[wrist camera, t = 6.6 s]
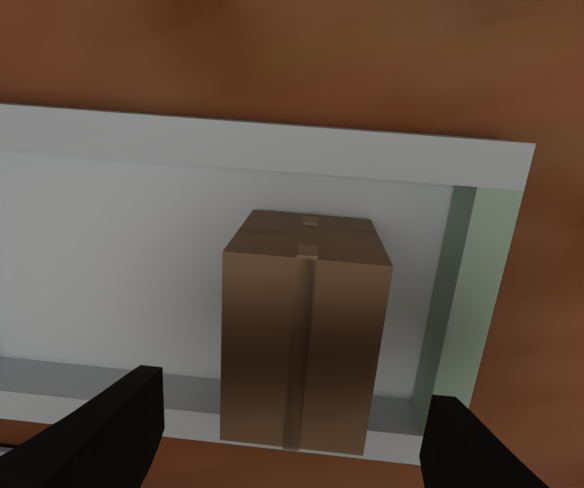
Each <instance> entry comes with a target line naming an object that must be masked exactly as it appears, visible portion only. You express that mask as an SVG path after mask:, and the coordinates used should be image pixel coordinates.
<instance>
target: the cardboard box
mask: <svg viewBox="0 0 584 488" xmlns="http://www.w3.org/2000/svg"><path fill="white" fill-rule="evenodd" d="M392 272H393V265H392V263H391V261H390V259H389V256H388V254H387V252H386V250H385V248H384V246H383V244H382V242H381V240H380V238H379V236H378V234H377V232H376V230H375V228H374V226H373V223H372V221H371V220H370V219H358V218H346V217H334V216H322V215H310V214H298V213H286V212H275V211H263V210H252V212H251V213H250V215H249V216H248V217H247V219H246V220H245V221H244V223H243V224H242V225H241V227H240V228H239V230H238V231H237V232H236V234H235V235H234V236H233V238H232V239H231V240H230V242H229V243H228V245H227V246H226V247H225V249H224V250H223V256H222V321H221V385H220V440H225V441H234V442H243V443H252V444H261V445H270V446H279V447H282V449H285V450H294V451H299V449H306V450H315V451H324V452H333V453H342V454H351V455H360V456H363V453H364V447H365V441H366V435H367V428H368V422H369V416H370V410H371V403H372V397H373V391H374V384H375V378H376V372H377V366H378V359H379V353H380V347H381V341H382V334H383V328H384V322H385V316H386V309H387V303H388V297H389V291H390V284H391V278H392Z"/></svg>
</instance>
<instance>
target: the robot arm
mask: <svg viewBox="0 0 584 488" xmlns="http://www.w3.org/2000/svg"><path fill="white" fill-rule="evenodd" d="M164 429H165V421H164V394H163V367H156V366H146V365H140V366H138V367H137V368H135V369H134V370H132V371H131V372H129V373H128V374H126V375H125V376H123V377H122V378H121V379H119V380H118V381H116V382H115V383H114V384H112V385H111V386H109V387H108V388H107V389H105V390H104V391H102V392H101V393H99V394H98V395H96V396H95V397H94V398H92V399H91V400H89V401H88V402H86V403H85V404H83V405H82V406H81V407H79V408H78V409H76V410H75V411H73V412H72V413H70V414H69V415H67V416H65V417H64V418H62V419H61V420H59V421H57V422H56V423H54V424H53V425H51V426H50V427H48V428H46V429H45V430H43V431H42V432H40V433H39V434H37V435H35V436H34V437H32V438H31V439H29V440H27V441H25V442H24V443H22V444H20V445H19V446H17V447H15V448H6V447H0V488H140V486H141V484H142V482H143V480H144V478H145V476H146V474H147V472H148V470H149V468H150V466H151V464H152V461H153V459H154V456H155V454H156V451H157V449H158V446H159V443H160V440H161V438H162V435H163V432H164ZM419 459H420V464H421V470H422V476H423V481H424V486H425V488H549V487H548V486H547V485H546V484H545V483H544V482H543V481H541V480H540V479H539V478H538V477H537V476H536V475H535V474H534V473H533V472H532V471H531V470H529V469H528V468H527V467H526V466H525V465H524V464H523V463H522V462H521V461H520V460H519V459H518V458H517V457H516V456H515V455H514V454H513V453H512V452H511V451H510V450H509V449H508V448H507V447H506V446H505V445H504V444H503V443H502V442H501V441H500V440H499V439H498V438H497V437H496V436H495V435H494V434H493V433H492V432H491V431H490V430H489V429H488V428H487V427H486V426H485V425H484V424H483V423H482V422H481V421H480V420H479V419H478V418H477V417H476V416H475V415H474V414H473V413H472V412H471V411H470V410H469V409H468V408H467V407H466V406H465V405H464V404H463V403H462V402H461V401H460V400H459V399H458V398H457V397H454V396H444V395H434V394H432V397H431V402H430V407H429V411H428V416H427V421H426V425H425V430H424V435H423V439H422V444H421V449H420V454H419Z"/></svg>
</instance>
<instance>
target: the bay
mask: <svg viewBox="0 0 584 488" xmlns="http://www.w3.org/2000/svg"><path fill="white" fill-rule="evenodd" d="M535 145H536V144H534V143H526V142H518V141H510V140H502V139H491V138H477V137H464V136H450V135H437V134H423V133H410V132H396V131H383V130H369V129H356V128H342V127H329V126H315V125H301V124H288V123H274V122H261V121H247V120H234V119H220V118H207V117H193V116H180V115H166V114H153V113H139V112H126V111H112V110H99V109H85V108H71V107H58V106H44V105H31V104H17V103H4V102H0V418H2V419H11V420H20V421H29V422H38V423H47V424H54V423H56V422H57V421H59V420H61V419H62V418H64V417H65V416H67V415H69V414H70V413H72V412H73V411H75V410H76V409H78V408H79V407H81V406H82V405H83V404H85V403H86V402H88V401H89V400H91V399H92V398H94V397H95V396H96V395H98V394H99V393H101V392H102V391H104V390H105V389H107V388H108V387H109V386H111V385H112V384H114V383H115V382H116V381H118V380H119V379H121V378H122V377H123V376H125V375H126V374H128V373H129V372H131V371H132V370H134V369H135V368H137V367H138V366H140V365H146V366H156V367H163V394H164V421H165V429H164V432H163V435H162V436H163V437H172V438H181V439H190V440H199V441H208V442H217V443H226V444H235V445H244V446H253V447H262V448H271V449H280V450H285V449H282V447H279V446H270V445H261V444H252V443H243V442H234V441H225V440H220V385H221V321H222V256H223V250H224V249H225V247H226V246H227V245H228V243H229V242H230V240H231V239H232V238H233V236H234V235H235V234H236V232H237V231H238V230H239V228H240V227H241V225H242V224H243V223H244V221H245V220H246V219H247V217H248V216H249V215H250V213H251V212H252V210H263V211H275V212H286V213H298V214H310V215H322V216H334V217H346V218H358V219H370V220H371V221H372V223H373V226H374V228H375V230H376V232H377V234H378V236H379V238H380V240H381V242H382V244H383V246H384V248H385V250H386V252H387V254H388V256H389V259H390V261H391V263H392V265H393V272H392V278H391V284H390V291H389V297H388V303H387V309H386V316H385V322H384V328H383V334H382V341H381V347H380V353H379V359H378V366H377V372H376V378H375V384H374V391H373V397H372V403H371V410H370V416H369V422H368V428H367V435H366V441H365V447H364V453H363V456H360V455H351V454H342V453H333V452H324V451H315V450H306V449H299V451H298V452H307V453H316V454H325V455H334V456H343V457H352V458H361V459H370V460H379V461H388V462H397V463H406V464H415V465H421V464H420V459H419V454H420V449H421V444H422V439H423V435H424V430H425V425H426V421H427V416H428V411H429V407H430V402H431V397H432V394H434V395H444V396H454V397H457V398H458V399H459V400H460V401H461V402H462V403H463V404H464V405H465V406H466V407H467V408H468V409H469V405H470V401H471V397H472V393H473V389H474V386H475V382H476V378H477V374H478V370H479V366H480V362H481V358H482V354H483V350H484V346H485V342H486V338H487V334H488V330H489V326H490V322H491V319H492V315H493V311H494V307H495V303H496V299H497V295H498V291H499V287H500V283H501V279H502V275H503V271H504V267H505V263H506V259H507V256H508V252H509V248H510V244H511V240H512V236H513V232H514V228H515V224H516V220H517V216H518V212H519V208H520V204H521V200H522V196H523V192H524V189H525V185H526V181H527V177H528V173H529V169H530V165H531V161H532V157H533V153H534V149H535ZM289 451H294V450H289Z"/></svg>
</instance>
